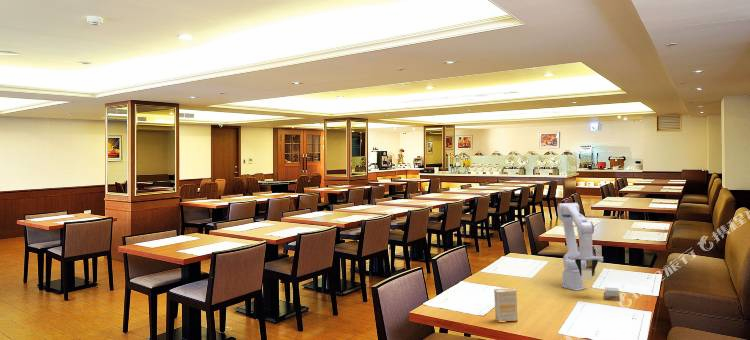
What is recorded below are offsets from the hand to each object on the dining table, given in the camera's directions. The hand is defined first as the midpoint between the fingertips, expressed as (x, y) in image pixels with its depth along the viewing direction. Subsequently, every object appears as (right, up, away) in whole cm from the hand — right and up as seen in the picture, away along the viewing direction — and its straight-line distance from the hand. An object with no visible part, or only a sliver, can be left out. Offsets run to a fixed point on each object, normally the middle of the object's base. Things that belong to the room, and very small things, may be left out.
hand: (586, 275), depth 233 cm
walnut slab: (+10, -11, -4) cm, 15 cm away
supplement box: (-46, -13, -29) cm, 56 cm away
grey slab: (+10, -8, -4) cm, 14 cm away
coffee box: (+19, -9, +46) cm, 50 cm away
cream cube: (0, -2, 0) cm, 2 cm away
